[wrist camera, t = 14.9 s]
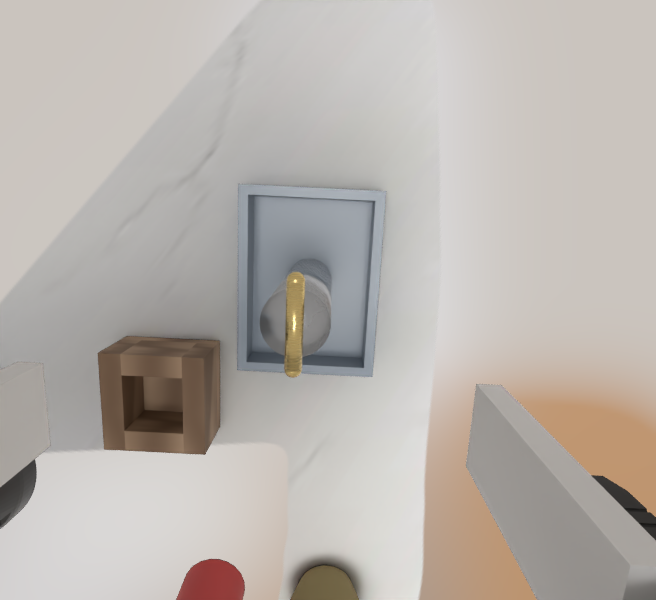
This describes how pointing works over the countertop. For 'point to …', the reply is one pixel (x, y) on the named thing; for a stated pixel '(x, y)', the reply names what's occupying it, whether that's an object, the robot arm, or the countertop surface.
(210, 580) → the beer can
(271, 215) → the tray
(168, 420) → the block
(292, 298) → the steel pin
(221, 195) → the countertop surface
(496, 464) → the robot arm
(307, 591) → the squeeze bottle
